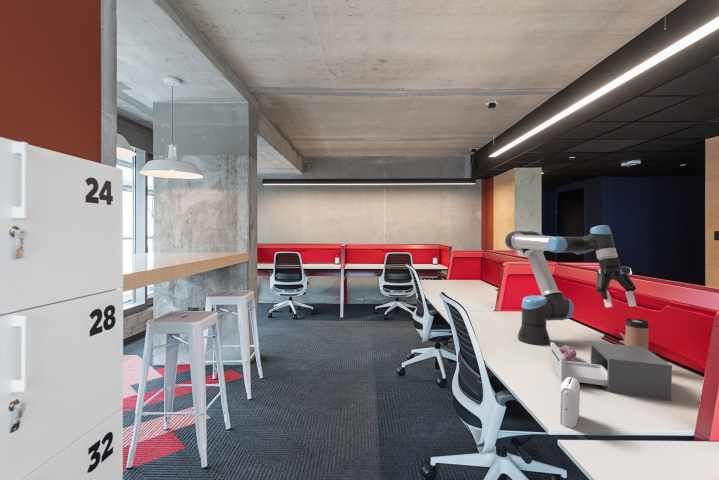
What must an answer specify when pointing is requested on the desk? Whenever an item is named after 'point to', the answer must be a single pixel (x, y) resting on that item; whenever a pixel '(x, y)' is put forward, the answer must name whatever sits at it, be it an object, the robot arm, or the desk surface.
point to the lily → (623, 338)
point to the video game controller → (568, 352)
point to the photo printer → (569, 402)
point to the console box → (633, 370)
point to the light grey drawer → (577, 369)
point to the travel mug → (636, 333)
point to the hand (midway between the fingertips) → (621, 306)
